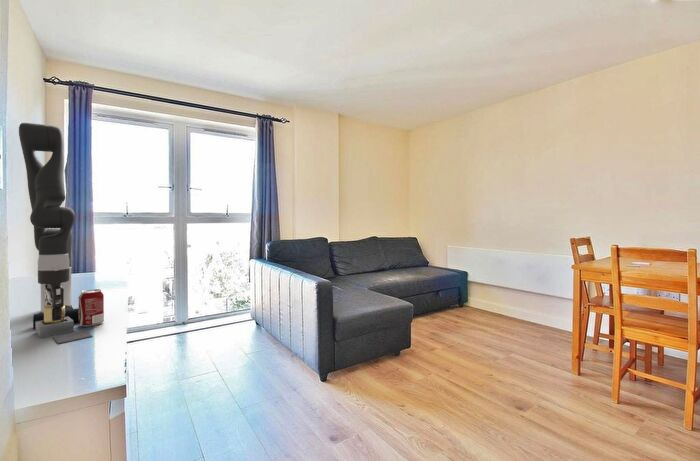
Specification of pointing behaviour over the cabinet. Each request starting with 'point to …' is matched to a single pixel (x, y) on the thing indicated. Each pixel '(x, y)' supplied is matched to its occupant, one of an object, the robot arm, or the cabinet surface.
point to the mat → (72, 337)
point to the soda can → (91, 308)
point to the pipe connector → (68, 312)
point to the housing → (54, 327)
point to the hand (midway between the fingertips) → (54, 317)
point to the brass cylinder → (49, 314)
